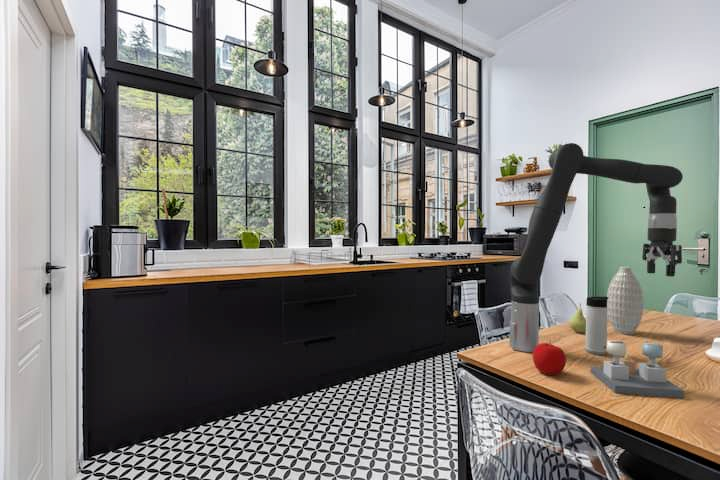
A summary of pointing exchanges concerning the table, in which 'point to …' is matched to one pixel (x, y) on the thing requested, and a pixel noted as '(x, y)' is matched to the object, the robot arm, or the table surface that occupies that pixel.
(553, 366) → the fruit
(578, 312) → the fruit
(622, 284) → the vase
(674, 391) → the plate
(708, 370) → the table surface
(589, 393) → the table surface
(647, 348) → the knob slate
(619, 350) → the knob ivory
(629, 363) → the trim pot
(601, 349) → the travel mug
